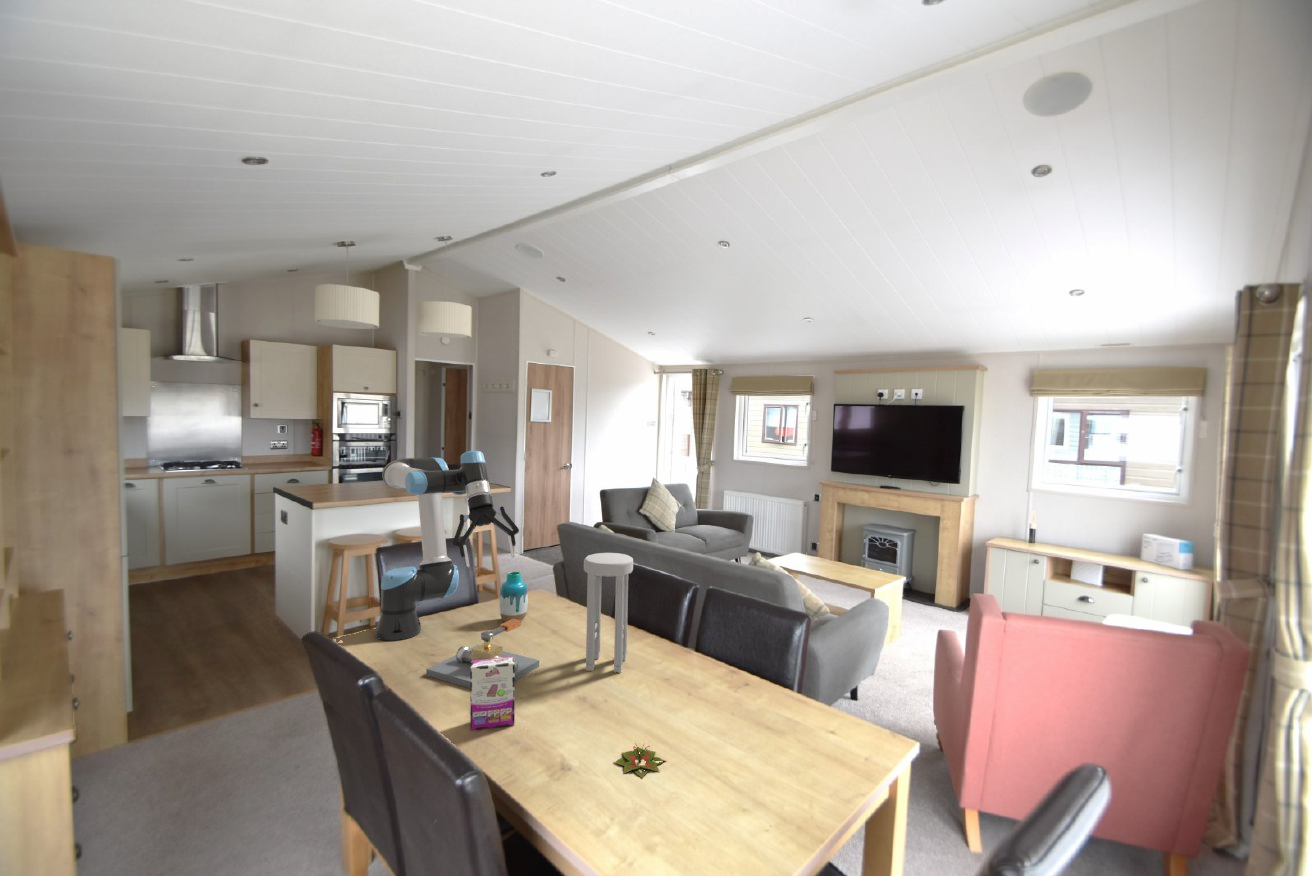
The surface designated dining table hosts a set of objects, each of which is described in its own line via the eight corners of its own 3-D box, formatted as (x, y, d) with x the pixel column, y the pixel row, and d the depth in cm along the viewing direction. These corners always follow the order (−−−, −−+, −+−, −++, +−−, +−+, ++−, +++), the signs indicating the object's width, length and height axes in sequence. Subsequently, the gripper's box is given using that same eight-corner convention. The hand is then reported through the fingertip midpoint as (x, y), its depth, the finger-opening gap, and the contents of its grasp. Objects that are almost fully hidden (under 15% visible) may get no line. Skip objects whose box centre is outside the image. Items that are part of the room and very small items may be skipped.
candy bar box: (514, 716, 157) (514, 655, 157) (514, 725, 152) (515, 663, 152) (470, 721, 154) (471, 659, 154) (469, 731, 149) (470, 667, 149)
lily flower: (637, 744, 146) (637, 726, 146) (675, 763, 138) (676, 744, 138) (603, 765, 137) (603, 746, 136) (642, 787, 129) (643, 767, 129)
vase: (523, 627, 223) (524, 577, 223) (495, 626, 224) (496, 576, 223) (530, 617, 234) (530, 569, 233) (503, 616, 234) (504, 569, 233)
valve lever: (478, 639, 182) (478, 633, 181) (512, 624, 196) (512, 618, 196) (487, 641, 180) (487, 636, 180) (521, 625, 194) (521, 620, 194)
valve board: (426, 675, 180) (426, 668, 180) (477, 650, 200) (477, 644, 200) (491, 694, 169) (491, 687, 169) (539, 666, 189) (539, 660, 189)
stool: (633, 656, 198) (635, 553, 197) (626, 676, 183) (629, 564, 182) (588, 653, 200) (590, 551, 199) (577, 672, 184) (579, 562, 183)
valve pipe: (454, 664, 185) (454, 636, 184) (468, 658, 190) (468, 630, 190) (506, 679, 175) (507, 649, 175) (519, 671, 181) (520, 642, 180)
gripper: (437, 501, 182) (447, 568, 175) (518, 486, 190) (531, 550, 183) (439, 508, 189) (449, 573, 182) (518, 493, 196) (530, 554, 190)
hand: (490, 561), depth 182 cm, fingers open, 13 cm apart
